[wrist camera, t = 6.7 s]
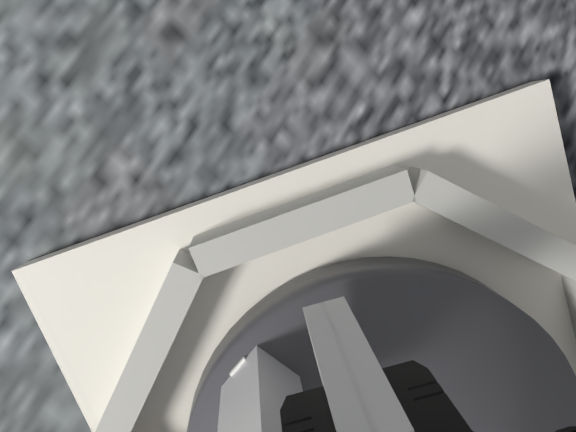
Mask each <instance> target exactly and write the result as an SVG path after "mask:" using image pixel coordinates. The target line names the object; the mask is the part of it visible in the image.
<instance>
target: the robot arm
mask: <svg viewBox="0 0 576 432" xmlns="http://www.w3.org/2000/svg"><path fill="white" fill-rule="evenodd" d="M302 308H303V312H304V316H305V320H306V323H307V327H308V331H309V335H310V339H311V343H312V346H313V350H314V354H315V358H316V362H317V366H318V369H319V373H320V377H321V381H322V385H323V386H321V387H318V388H314V389H310V390H307V391H303V392H299V393H296V394H292V395H288V396H286V398H285V400H284V402H283V405H282V407H281V409H280V417H281V425H282V432H474V431H472V430H471V428H470V427H469V425H468V424H467V423H466V421H465V420H464V418H463V417H462V416H461V414H460V413H459V411H458V410H457V408H456V407H455V406H454V404H453V403H452V401H451V400H450V399H449V397H448V396H447V394H446V393H444V390H443V389H442V387H441V386H440V384H439V383H437V380H436V379H435V377H434V376H433V375H432V373H431V372H430V370H429V369H428V368H427V367H425V366H423V365H421V364H419V363H418V362H416V361H414V360H411V361H407V362H403V363H400V364H396V365H392V366H389V367H385V368H381V366H380V364H379V362H378V360H377V358H376V356H375V355H374V353H373V351H372V349H371V347H370V345H369V343H368V341H367V339H366V337H365V335H364V334H363V332H362V330H361V328H360V326H359V324H358V322H357V320H356V318H355V316H354V315H353V313H352V311H351V309H350V307H349V305H348V303H347V301H346V299H345V297H344V296H343V297H339V298H336V299H332V300H328V301H324V302H321V303H317V304H313V305H310V306H306V307H302ZM555 432H576V426H569V427H565V428H562V429H559V430H556V431H555Z"/></svg>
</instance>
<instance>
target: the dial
mask: <svg viewBox="0 0 576 432" xmlns="http://www.w3.org/2000/svg"><path fill="white" fill-rule="evenodd" d="M343 296H344V297H345V299H346V301H347V303H348V305H349V307H350V309H351V311H352V313H353V315H354V316H355V318H356V320H357V322H358V324H359V326H360V328H361V330H362V332H363V334H364V335H365V337H366V339H367V341H368V343H369V345H370V347H371V349H372V351H373V353H374V355H375V356H376V358H377V360H378V362H379V364H380V366H381V368H385V367H389V366H392V365H396V364H400V363H403V362H407V361H411V360H414V361H416V362H418V363H419V364H421V365H423V366H425V367H427V368H428V369H429V370H430V372H431V373H432V375H433V376H434V377H435V379H436V380H437V383H439V384H440V386H441V387H442V389H443V390H444V393H446V394H447V396H448V397H449V399H450V400H451V401H452V403H453V404H454V406H455V407H456V408H457V410H458V411H459V413H460V414H461V416H462V417H463V418H464V420H465V421H466V423H467V424H468V425H469V427H470V428H471V430H472V431H474V432H555V431H556V430H559V429H562V428H565V427H569V426H576V375H575V373H574V371H573V369H572V368H571V366H570V364H569V362H568V360H567V358H566V356H565V355H564V353H563V352H562V350H561V349H560V348H559V346H558V345H557V344H556V342H555V341H554V340H553V338H552V337H551V336H550V335H549V334H548V333H547V332H546V331H545V330H544V329H543V328H542V327H541V326H540V325H539V324H538V323H537V322H536V321H535V320H534V319H533V318H532V317H530V316H529V315H528V314H526V313H525V312H524V311H522V310H521V309H519V308H518V307H517V306H515V305H514V304H513V303H511V302H510V301H508V300H507V299H505V298H504V297H502V296H501V295H499V294H498V293H496V292H495V291H493V290H492V289H490V288H489V287H487V286H486V285H484V284H483V283H481V282H479V281H478V280H476V279H474V278H472V277H470V276H468V275H466V274H464V273H463V272H460V271H458V270H455V269H452V268H450V267H447V266H444V265H441V264H438V263H434V262H429V261H425V260H420V259H415V258H404V257H391V256H388V257H368V258H360V259H354V260H349V261H343V262H338V263H335V264H332V265H328V266H325V267H322V268H319V269H316V270H313V271H311V272H308V273H306V274H304V275H302V276H300V277H297V278H295V279H293V280H291V281H289V282H287V283H286V284H284V285H282V286H281V287H279V288H278V289H276V290H274V291H273V292H271V293H269V294H268V295H267V296H265V297H264V298H263V299H262V300H260V301H259V302H258V303H257V304H255V305H254V306H253V307H252V308H250V309H249V310H248V311H247V312H246V313H245V314H244V315H243V316H242V317H241V318H240V319H239V320H238V321H237V322H236V323H235V324H234V325H233V326H232V327H231V328H230V330H229V331H228V332H227V334H226V335H225V336H224V338H223V339H222V340H221V342H220V343H219V345H218V346H217V347H216V349H215V350H214V352H213V354H212V356H211V357H210V359H209V361H208V363H207V365H206V367H205V368H204V370H203V372H202V375H201V378H200V380H199V383H198V386H197V388H196V391H195V394H194V398H193V403H192V407H191V412H190V416H189V422H188V427H187V432H282V425H281V417H280V409H281V407H282V405H283V402H284V400H285V398H286V396H288V395H292V394H296V393H299V392H303V391H307V390H310V389H314V388H318V387H321V386H323V385H322V381H321V377H320V373H319V369H318V366H317V362H316V358H315V354H314V350H313V346H312V343H311V339H310V335H309V331H308V327H307V323H306V320H305V316H304V312H303V308H302V307H306V306H310V305H313V304H317V303H321V302H324V301H328V300H332V299H336V298H339V297H343Z"/></svg>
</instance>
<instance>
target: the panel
mask: <svg viewBox="0 0 576 432" xmlns="http://www.w3.org/2000/svg"><path fill="white" fill-rule="evenodd" d="M388 256H391V257H404V258H415V259H420V260H425V261H429V262H434V263H438V264H441V265H444V266H447V267H450V268H452V269H455V270H458V271H460V272H463V273H464V274H466V275H468V276H470V277H472V278H474V279H476V280H478V281H479V282H481V283H483V284H484V285H486V286H487V287H489V288H490V289H492V290H493V291H495V292H496V293H498V294H499V295H501V296H502V297H504V298H505V299H507V300H508V301H510V302H511V303H513V304H514V305H515V306H517V307H518V308H519V309H521V310H522V311H524V312H525V313H526V314H528V315H529V316H530V317H532V318H533V319H534V320H535V321H536V322H537V323H538V324H539V325H540V326H541V327H542V328H543V329H544V330H545V331H546V332H547V333H548V334H549V335H550V336H551V337H552V338H553V340H554V341H555V342H556V344H557V345H558V346H559V348H560V349H561V350H562V352H563V353H564V355H565V356H566V358H567V360H568V362H569V364H570V366H571V368H572V369H573V371H574V373H575V375H576V201H575V197H574V192H573V187H572V183H571V178H570V173H569V168H568V164H567V159H566V154H565V150H564V145H563V140H562V136H561V131H560V126H559V122H558V117H557V112H556V108H555V103H554V98H553V94H552V89H551V84H550V80H549V79H546V80H539V81H532V82H529V83H526V84H523V85H520V86H518V87H515V88H512V89H509V90H506V91H504V92H501V93H498V94H495V95H492V96H490V97H487V98H484V99H481V100H478V101H476V102H473V103H470V104H467V105H464V106H462V107H459V108H456V109H453V110H450V111H448V112H445V113H442V114H439V115H436V116H434V117H431V118H428V119H425V120H422V121H420V122H417V123H414V124H411V125H408V126H406V127H403V128H400V129H397V130H394V131H392V132H389V133H386V134H383V135H380V136H378V137H375V138H372V139H369V140H366V141H364V142H361V143H358V144H355V145H352V146H350V147H347V148H344V149H341V150H338V151H336V152H333V153H330V154H327V155H324V156H322V157H319V158H316V159H313V160H310V161H308V162H305V163H302V164H299V165H296V166H294V167H291V168H288V169H285V170H282V171H280V172H277V173H274V174H271V175H268V176H266V177H263V178H260V179H257V180H254V181H252V182H249V183H246V184H243V185H240V186H238V187H235V188H232V189H229V190H226V191H224V192H221V193H218V194H215V195H212V196H210V197H207V198H204V199H201V200H198V201H196V202H193V203H190V204H187V205H184V206H182V207H179V208H176V209H173V210H170V211H168V212H165V213H162V214H159V215H156V216H154V217H151V218H148V219H145V220H142V221H140V222H137V223H134V224H131V225H128V226H126V227H123V228H120V229H117V230H114V231H112V232H109V233H106V234H103V235H100V236H98V237H95V238H92V239H89V240H86V241H84V242H81V243H78V244H75V245H72V246H70V247H67V248H64V249H61V250H58V251H56V252H53V253H50V254H47V255H44V256H42V257H39V258H36V259H33V260H30V261H28V262H25V263H24V264H22V265H21V266H19V267H17V268H16V269H14V270H13V271H12V273H13V275H14V277H15V279H16V281H17V283H18V285H19V287H20V289H21V291H22V293H23V295H24V297H25V299H26V301H27V303H28V305H29V307H30V309H31V311H32V313H33V315H34V317H35V319H36V321H37V323H38V325H39V327H40V329H41V331H42V333H43V335H44V337H45V339H46V341H47V343H48V345H49V347H50V349H51V351H52V353H53V355H54V357H55V359H56V361H57V363H58V365H59V367H60V369H61V371H62V373H63V375H64V377H65V379H66V381H67V383H68V385H69V387H70V389H71V391H72V393H73V395H74V397H75V399H76V401H77V403H78V405H79V407H80V409H81V411H82V413H83V415H84V417H85V419H86V421H87V423H88V425H89V427H90V429H91V431H92V432H187V427H188V422H189V416H190V412H191V407H192V403H193V398H194V394H195V391H196V388H197V386H198V383H199V380H200V378H201V375H202V372H203V370H204V368H205V367H206V365H207V363H208V361H209V359H210V357H211V356H212V354H213V352H214V350H215V349H216V347H217V346H218V345H219V343H220V342H221V340H222V339H223V338H224V336H225V335H226V334H227V332H228V331H229V330H230V328H231V327H232V326H233V325H234V324H235V323H236V322H237V321H238V320H239V319H240V318H241V317H242V316H243V315H244V314H245V313H246V312H247V311H248V310H249V309H250V308H252V307H253V306H254V305H255V304H257V303H258V302H259V301H260V300H262V299H263V298H264V297H265V296H267V295H268V294H269V293H271V292H273V291H274V290H276V289H278V288H279V287H281V286H282V285H284V284H286V283H287V282H289V281H291V280H293V279H295V278H297V277H300V276H302V275H304V274H306V273H308V272H311V271H313V270H316V269H319V268H322V267H325V266H328V265H332V264H335V263H338V262H343V261H349V260H354V259H360V258H368V257H388Z"/></svg>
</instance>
